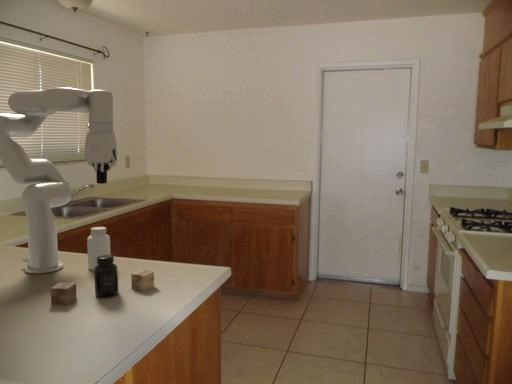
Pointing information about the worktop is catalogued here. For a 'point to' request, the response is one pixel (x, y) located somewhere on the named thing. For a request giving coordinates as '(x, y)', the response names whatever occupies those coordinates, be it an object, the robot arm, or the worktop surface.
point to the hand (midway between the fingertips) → (101, 183)
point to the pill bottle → (97, 245)
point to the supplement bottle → (106, 277)
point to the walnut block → (63, 293)
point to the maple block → (142, 280)
